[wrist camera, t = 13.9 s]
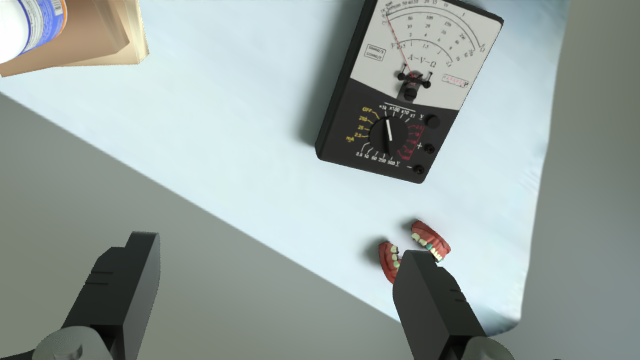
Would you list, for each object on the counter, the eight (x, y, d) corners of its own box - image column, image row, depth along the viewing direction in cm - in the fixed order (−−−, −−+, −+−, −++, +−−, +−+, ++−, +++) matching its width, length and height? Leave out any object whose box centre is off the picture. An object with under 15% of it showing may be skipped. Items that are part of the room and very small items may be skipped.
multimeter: (312, 146, 48) (317, 167, 43) (374, -31, 39) (388, -28, 35) (413, 171, 51) (427, 193, 47) (490, 13, 42) (516, 21, 38)
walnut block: (-37, -54, 31) (-74, -53, 28) (81, -78, 31) (58, -80, 28) (27, 64, 36) (2, 77, 32) (130, 42, 36) (115, 53, 32)
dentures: (462, 263, 53) (403, 298, 55) (449, 241, 57) (394, 274, 59) (438, 233, 50) (377, 271, 52) (426, 212, 54) (370, 247, 56)
